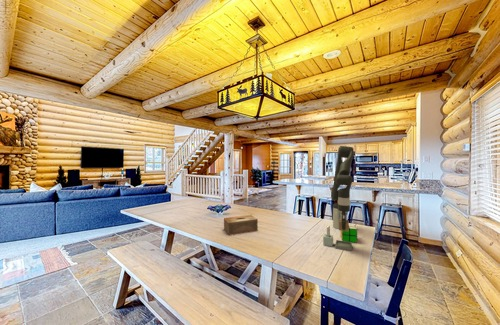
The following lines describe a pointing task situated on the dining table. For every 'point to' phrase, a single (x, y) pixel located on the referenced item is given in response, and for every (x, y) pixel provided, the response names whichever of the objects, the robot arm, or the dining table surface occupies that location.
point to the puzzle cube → (349, 234)
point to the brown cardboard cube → (346, 225)
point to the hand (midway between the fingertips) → (343, 227)
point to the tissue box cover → (240, 224)
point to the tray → (343, 245)
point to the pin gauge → (328, 231)
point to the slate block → (328, 240)
